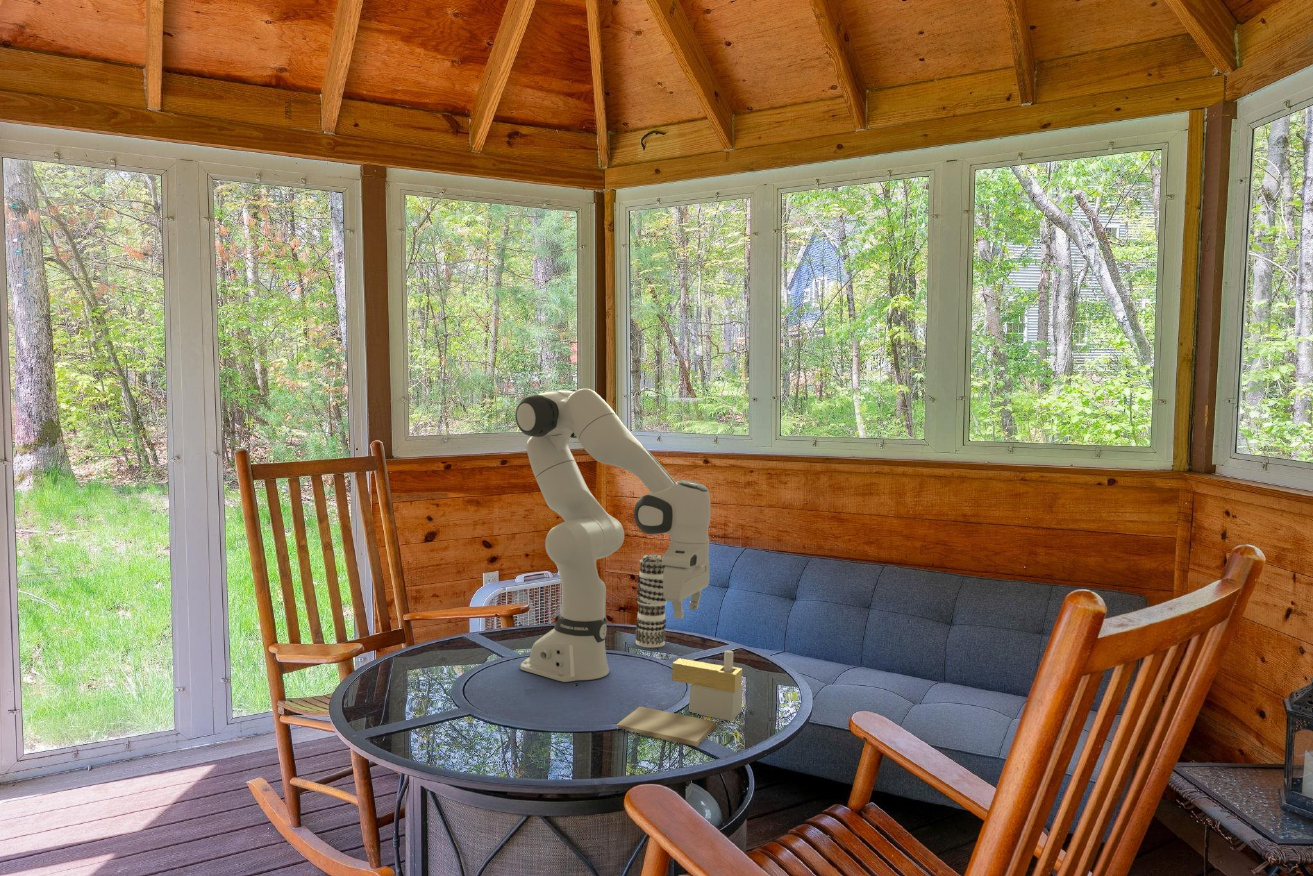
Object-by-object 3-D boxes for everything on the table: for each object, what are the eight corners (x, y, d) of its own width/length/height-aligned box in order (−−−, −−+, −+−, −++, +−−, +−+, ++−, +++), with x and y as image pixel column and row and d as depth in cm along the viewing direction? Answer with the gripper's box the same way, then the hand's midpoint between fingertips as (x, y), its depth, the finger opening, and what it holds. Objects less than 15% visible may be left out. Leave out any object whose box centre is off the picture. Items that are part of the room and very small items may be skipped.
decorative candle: (631, 646, 238) (634, 557, 237) (637, 637, 247) (641, 552, 246) (663, 649, 236) (667, 560, 235) (668, 640, 245) (672, 554, 244)
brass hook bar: (671, 681, 192) (671, 663, 192) (679, 674, 197) (680, 657, 196) (734, 692, 186) (735, 674, 186) (741, 686, 191) (742, 668, 191)
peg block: (688, 712, 189) (691, 650, 189) (699, 702, 196) (702, 642, 195) (731, 721, 185) (734, 657, 185) (741, 710, 192) (744, 649, 191)
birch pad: (616, 729, 178) (616, 724, 178) (639, 710, 189) (640, 706, 189) (696, 746, 171) (696, 741, 171) (716, 726, 182) (716, 721, 182)
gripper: (692, 545, 203) (689, 602, 204) (658, 558, 184) (656, 621, 185) (717, 548, 200) (714, 606, 201) (686, 561, 182) (683, 625, 182)
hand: (686, 613), depth 193 cm, fingers open, 8 cm apart
